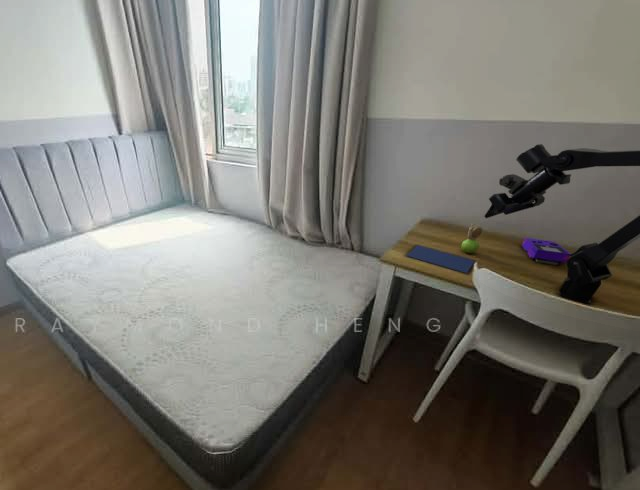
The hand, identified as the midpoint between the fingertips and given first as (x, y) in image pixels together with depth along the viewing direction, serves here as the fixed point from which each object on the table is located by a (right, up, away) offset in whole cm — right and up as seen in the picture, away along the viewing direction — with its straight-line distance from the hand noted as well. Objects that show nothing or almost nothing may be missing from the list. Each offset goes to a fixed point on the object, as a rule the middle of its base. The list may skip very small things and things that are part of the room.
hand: (495, 215), depth 111 cm
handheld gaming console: (+21, -14, +5) cm, 26 cm away
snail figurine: (-4, -13, +8) cm, 16 cm away
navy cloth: (-17, -15, +5) cm, 23 cm away
